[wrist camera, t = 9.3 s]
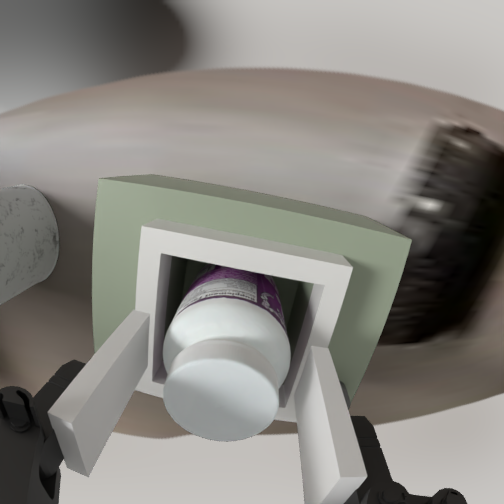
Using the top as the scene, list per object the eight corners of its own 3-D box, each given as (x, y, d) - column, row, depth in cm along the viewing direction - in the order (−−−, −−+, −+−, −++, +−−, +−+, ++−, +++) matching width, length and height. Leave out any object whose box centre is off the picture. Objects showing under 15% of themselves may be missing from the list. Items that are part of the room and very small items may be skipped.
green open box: (137, 319, 25) (82, 389, 15) (151, 174, 22) (77, 180, 12) (323, 355, 25) (347, 442, 15) (365, 216, 22) (430, 249, 12)
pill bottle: (282, 330, 19) (301, 448, 10) (199, 337, 20) (167, 453, 10) (274, 248, 18) (297, 333, 9) (183, 258, 18) (123, 345, 9)
